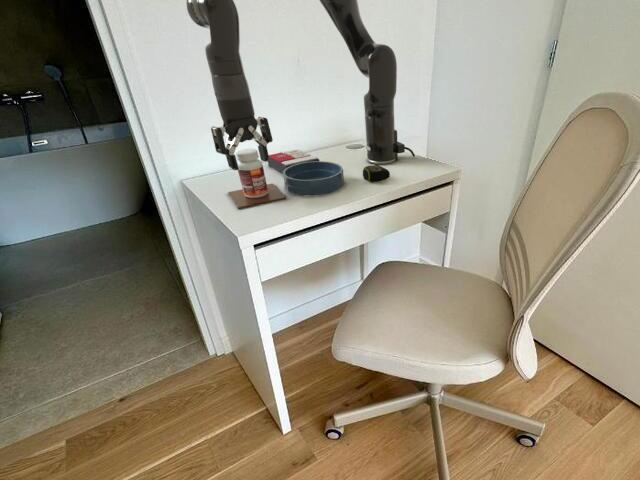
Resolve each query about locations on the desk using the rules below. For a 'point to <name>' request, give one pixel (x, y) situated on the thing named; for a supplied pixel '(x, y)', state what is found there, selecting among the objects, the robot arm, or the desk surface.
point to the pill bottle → (251, 173)
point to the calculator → (289, 159)
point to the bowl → (313, 178)
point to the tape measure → (375, 173)
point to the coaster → (247, 202)
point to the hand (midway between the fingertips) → (250, 165)
